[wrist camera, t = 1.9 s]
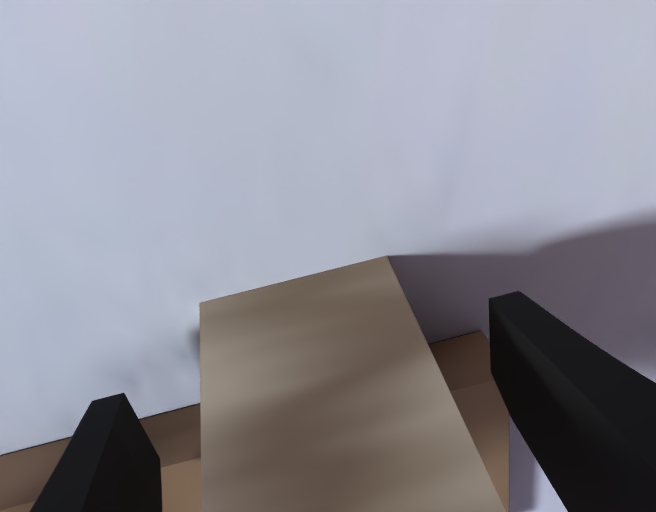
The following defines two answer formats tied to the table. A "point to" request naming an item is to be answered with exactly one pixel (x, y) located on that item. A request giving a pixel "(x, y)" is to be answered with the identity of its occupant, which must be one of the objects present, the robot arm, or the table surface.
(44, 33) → the table surface
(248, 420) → the marking gauge
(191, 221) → the table surface
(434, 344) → the walnut board
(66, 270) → the table surface
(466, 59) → the table surface
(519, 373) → the robot arm
